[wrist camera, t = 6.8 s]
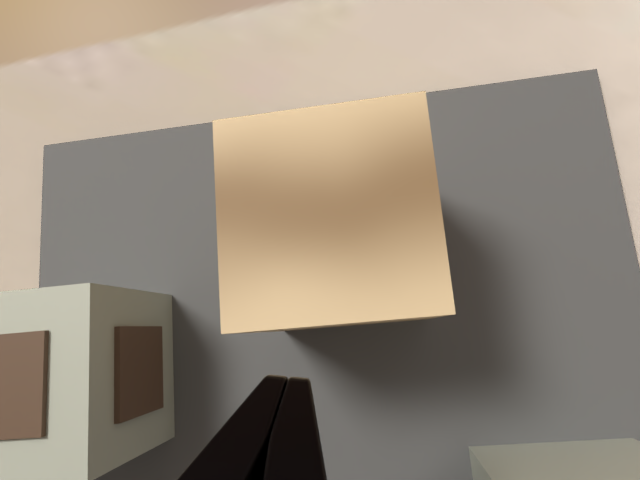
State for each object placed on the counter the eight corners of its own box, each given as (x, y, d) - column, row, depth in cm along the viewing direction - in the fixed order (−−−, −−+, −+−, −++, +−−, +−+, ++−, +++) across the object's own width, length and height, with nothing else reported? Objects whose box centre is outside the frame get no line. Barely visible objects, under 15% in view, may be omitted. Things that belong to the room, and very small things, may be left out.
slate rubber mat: (724, 708, 16) (735, 719, 16) (33, 701, 19) (24, 711, 19) (591, 75, 21) (596, 69, 20) (50, 149, 24) (43, 145, 23)
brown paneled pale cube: (179, 436, 20) (89, 485, 14) (44, 444, 21) (-98, 493, 14) (176, 294, 21) (92, 281, 15) (48, 306, 22) (-82, 299, 16)
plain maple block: (426, 319, 19) (455, 314, 12) (284, 331, 20) (221, 334, 12) (409, 180, 20) (425, 90, 13) (275, 196, 21) (212, 120, 13)
